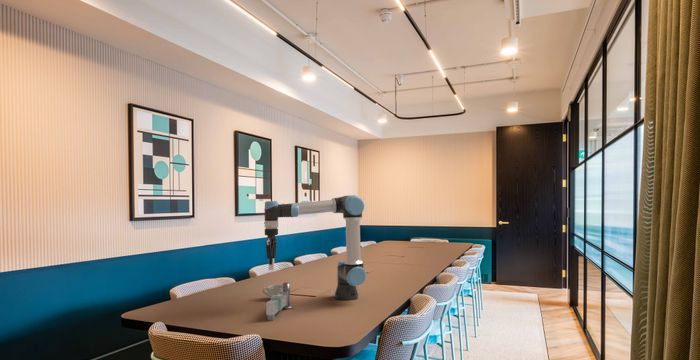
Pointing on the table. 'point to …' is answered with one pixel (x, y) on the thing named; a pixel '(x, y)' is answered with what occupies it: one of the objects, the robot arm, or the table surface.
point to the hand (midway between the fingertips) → (271, 269)
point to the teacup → (273, 290)
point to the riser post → (287, 288)
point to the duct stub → (273, 307)
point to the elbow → (283, 298)
